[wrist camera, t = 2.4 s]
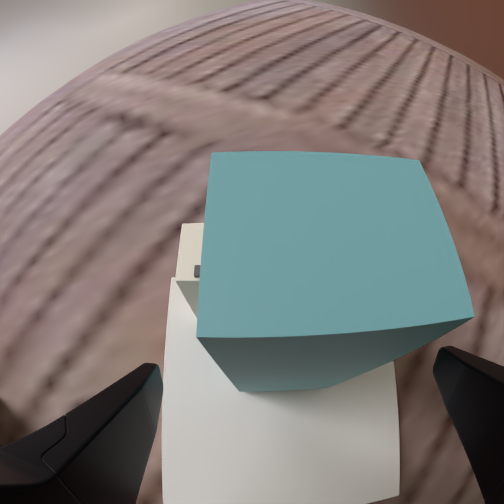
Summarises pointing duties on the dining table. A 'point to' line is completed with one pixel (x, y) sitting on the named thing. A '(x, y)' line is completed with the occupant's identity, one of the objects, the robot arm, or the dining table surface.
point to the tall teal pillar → (322, 267)
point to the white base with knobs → (267, 423)
